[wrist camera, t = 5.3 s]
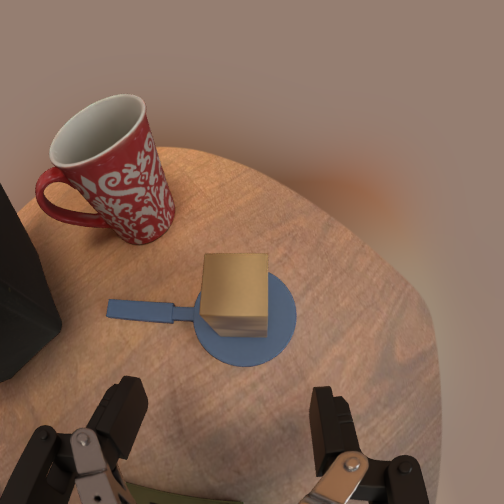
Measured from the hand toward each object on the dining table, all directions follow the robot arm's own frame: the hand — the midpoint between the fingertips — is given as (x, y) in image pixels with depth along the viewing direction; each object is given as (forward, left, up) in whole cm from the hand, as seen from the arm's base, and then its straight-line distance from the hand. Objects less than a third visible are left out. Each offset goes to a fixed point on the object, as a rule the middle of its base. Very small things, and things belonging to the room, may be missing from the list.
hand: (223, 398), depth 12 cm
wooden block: (0, -7, -11) cm, 13 cm away
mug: (+13, -17, -12) cm, 24 cm away
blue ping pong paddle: (+5, -7, -12) cm, 14 cm away
